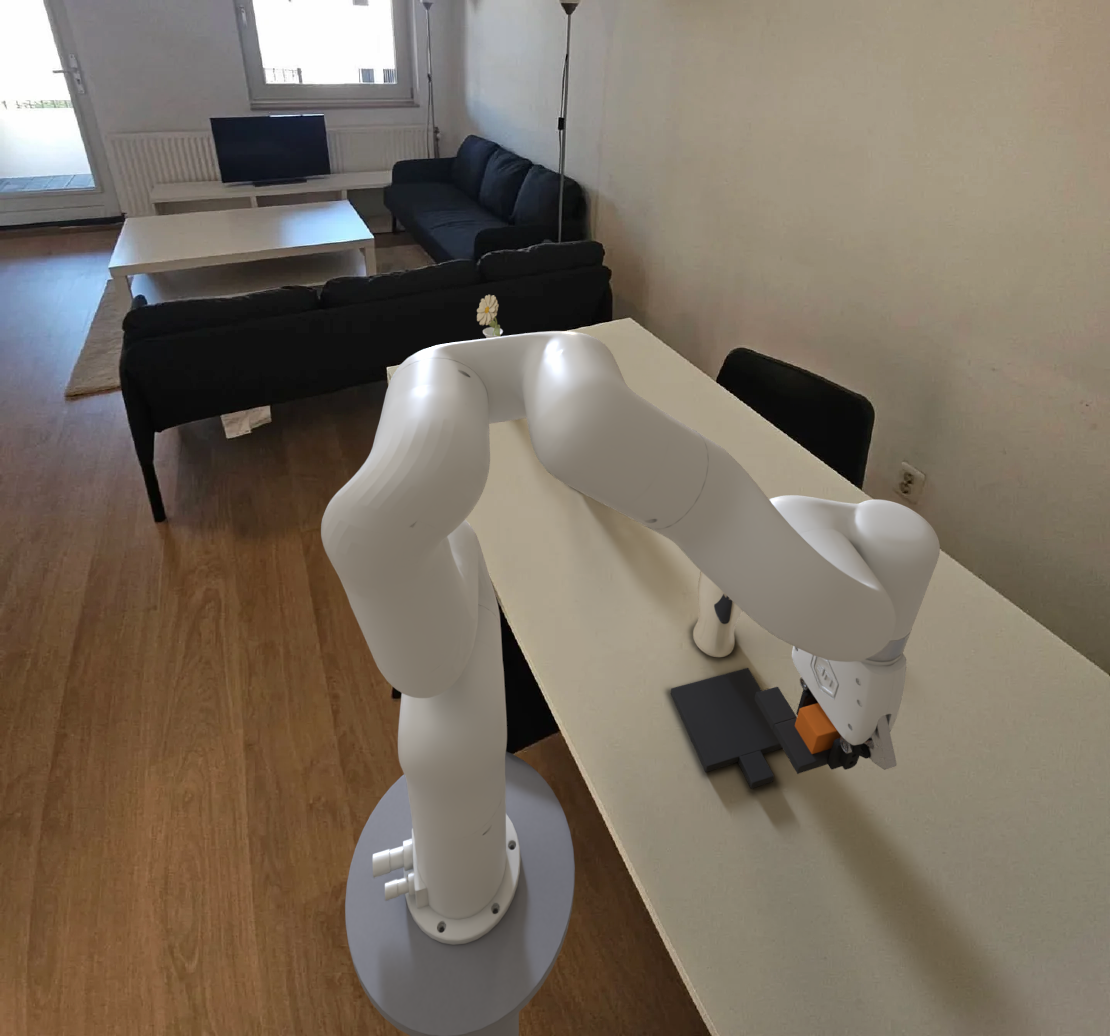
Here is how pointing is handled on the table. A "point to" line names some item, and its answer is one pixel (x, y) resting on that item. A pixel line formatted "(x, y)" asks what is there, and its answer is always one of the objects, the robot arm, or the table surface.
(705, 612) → the beer glass
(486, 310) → the flower in vase
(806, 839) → the table surface
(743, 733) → the charcoal pad
